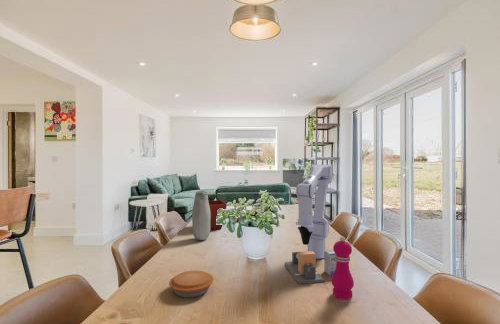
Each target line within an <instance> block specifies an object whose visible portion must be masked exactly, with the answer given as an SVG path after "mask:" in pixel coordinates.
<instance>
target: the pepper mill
mask: <svg viewBox="0 0 500 324" xmlns="http://www.w3.org/2000/svg"><path fill="white" fill-rule="evenodd" d="M332 250H334V252H335V260H336V269H335V272H334V274H333V275H331V285H332V286H333V289H332V294H333V296H334V297H335V298H337V299H340V300H350V299H352V297H353V290H352V289H353V288H354V286H355V285H354V284H355V283H354V278H353V276H352V273H351V270H350V262H351V256H350V255H352V252H353V248H352V245H351V244H350V243H349V242H348V241H346V238H345V236H340V237H339V240H338V241H335V243H334V244H333V248H332Z"/></svg>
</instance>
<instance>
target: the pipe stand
mask: <svg viewBox="0 0 500 324" xmlns="http://www.w3.org/2000/svg"><path fill="white" fill-rule="evenodd" d="M298 252H299V251H293V252H292V251H291V259H292V261H284V265H285V267H286V268H287V269H288V271H289V272H290V273H291V275H292V276H293V278H294V279H295V280H296V282H297V283H298V284H299V285H301V284H311V283H313V284H314V283H324V282H325V278H324V277H323V276H322V275H321V274H320V273H319V271H317V268H316V267H317V266H316V267H315V266H314V265H309V263H305V265H304V274H300V272H299V271H298Z"/></svg>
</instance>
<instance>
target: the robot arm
mask: <svg viewBox="0 0 500 324" xmlns="http://www.w3.org/2000/svg"><path fill="white" fill-rule="evenodd" d="M333 175H334V168H333V166H332V164H330V163H329V164H311V166H310V174H308V175H307V176H306V177H305V178H304V180H303V181H302V182H301V183H298V184H297V185H296V189H295V195H296V200H297V201H298V218H297V222H295V225H297V226H298V227H297V229H298V232H299V235H300V237H301V242H302V244H303V245H304V246H306V245H307V250H306V251H305V252H308V251H313V252H314V253H315V254H316V260H318V259H319V260H321V259H324V251H326V239H327V238H328V237H329V235H330V222H329V220H328V219H326V218H325V210H326V209H325V208H326V203H327V192H328V187H329V185H330V184H331V183H332V181H333ZM316 188H317V189H316ZM315 191H316V196H315ZM314 196H315V203H314V210H313V197H314Z"/></svg>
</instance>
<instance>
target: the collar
mask: <svg viewBox="0 0 500 324" xmlns="http://www.w3.org/2000/svg"><path fill="white" fill-rule="evenodd" d="M307 251H308V250H307ZM297 252H298V271H299V272H300V274H304V265H305V263H309V265H314V266H315V267H317V264H316V263H317V262H316V261H317V259H316V254H315V253H314V252H313V251H308V252H306V251H297Z"/></svg>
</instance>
